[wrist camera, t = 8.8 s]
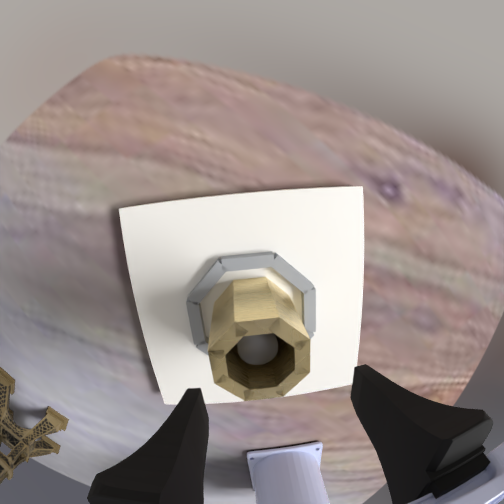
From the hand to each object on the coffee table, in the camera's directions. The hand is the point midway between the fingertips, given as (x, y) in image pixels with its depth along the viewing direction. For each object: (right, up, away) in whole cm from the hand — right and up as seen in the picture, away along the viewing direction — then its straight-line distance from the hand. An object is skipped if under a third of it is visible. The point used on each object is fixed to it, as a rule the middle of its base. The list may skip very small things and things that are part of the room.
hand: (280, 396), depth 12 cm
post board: (-1, +3, +9) cm, 9 cm away
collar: (-1, +2, +7) cm, 8 cm away
